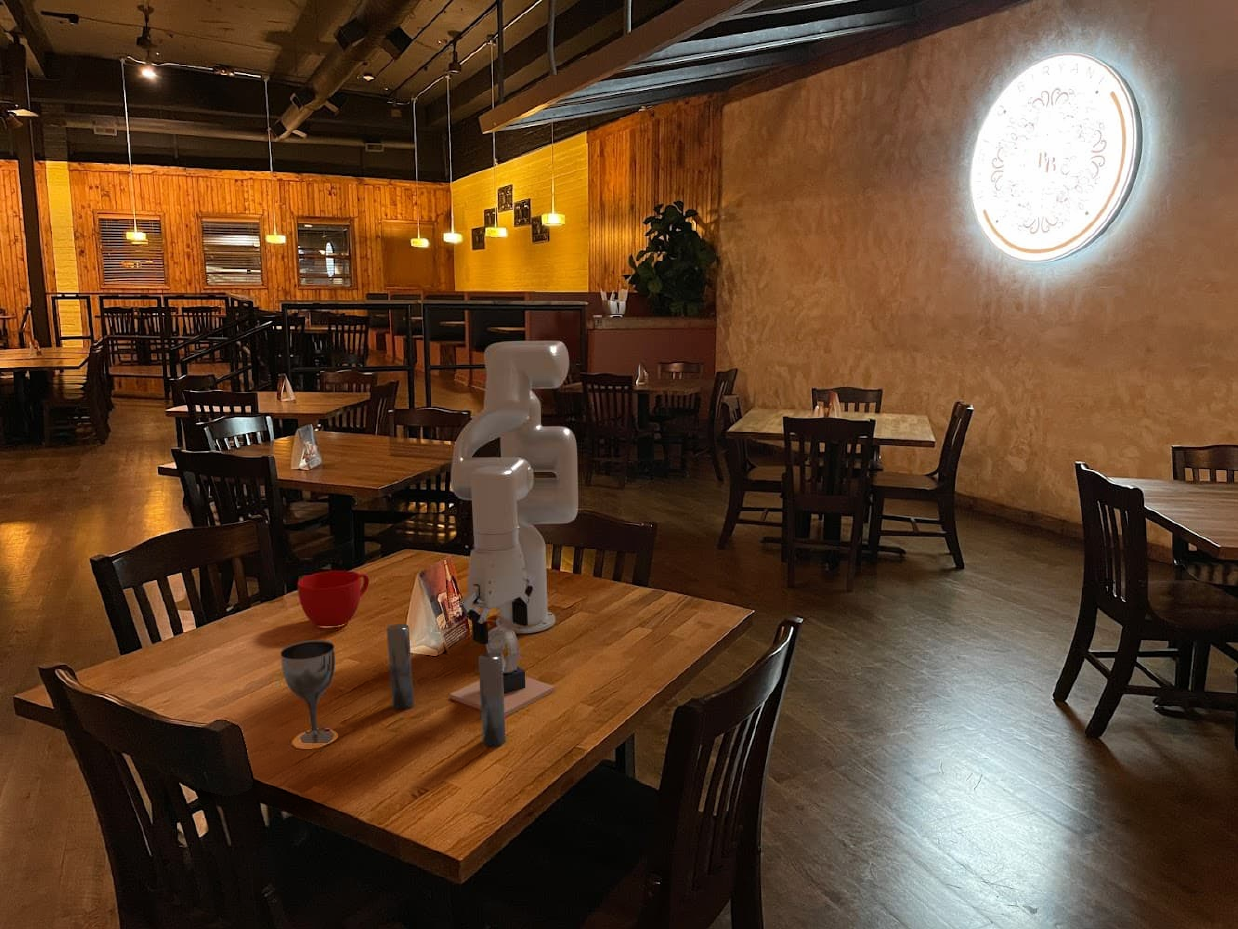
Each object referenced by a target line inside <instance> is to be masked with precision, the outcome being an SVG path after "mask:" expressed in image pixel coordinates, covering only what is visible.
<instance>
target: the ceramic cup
mask: <svg viewBox="0 0 1238 929" xmlns="http://www.w3.org/2000/svg"><path fill="white" fill-rule="evenodd" d="M361 578H363V584H362V583H361ZM369 582H370V578H369V576H368V575H367V574H365V573H363V572H362V573H357V572H354V571H352V570H351V571H350V570H328V571H323V572H322V571H321V572H317V573H313V574H309V575H307V576H303V577H302V578H301V579H298V582H297V593H298V598H299V602H300V606H301V608H302V610H303V613H304V615H305V616H306V617H307V618H308V619H309V621H310V622H311V623H312V624H314V625H315V626H316V625H317V626H338V625H342V624H345V623H347V622H348V621H350V620H351V619H352V618H353V617H354V615H355V613H356V612H357V610H358V607H359V604H360V601H361V600H360V599H361V597H362V596H363V595H364V594H365V593H366V591H367V589H368V588H369ZM361 584H362V586H361ZM348 623H349V622H348ZM348 623H347V624H348ZM317 626H316V627H317Z"/></svg>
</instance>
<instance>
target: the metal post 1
mask: <svg viewBox="0 0 1238 929" xmlns="http://www.w3.org/2000/svg"><path fill="white" fill-rule="evenodd" d="M386 638H387V648H388V661H389V663H388V664H389V674H390V686H391V699H392V700H391V701H392V708H393V709H395V710H398V711H403V710H408V709H411V708H413V707H414V706H415V692H414V683H413V682H414V680H413V668H412V666H413V665H412V654H411V642H410V628H409V625H408V624H405V623H397V624H392V625H390V626H388V627H387V628H386Z"/></svg>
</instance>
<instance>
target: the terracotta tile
mask: <svg viewBox="0 0 1238 929" xmlns="http://www.w3.org/2000/svg"><path fill="white" fill-rule="evenodd" d="M525 687H526V688H522V689H519V690H516V691H512V692H509V693H505V694H504V711H505V718H506V717H508V716H510V715H511V714H513V713H516V712H518V711H520V710H521V709H523V708H525V707H527V706H529V705H531V704H533V703H535V702H536V701H538V700H541V699H542V698H543V697H546V696H549V695H550V694H551V693H553V692H555V691H556V686H555V685H553V684H549V683H546V682H542V681H540V680H537V679H534V678H531V677H527V676H525ZM449 699H450V700H453V701H456V702H458V703H462V704H464V705H467V706H470V707H473V708H475V709H478V710H480V711H481V698H480V679H479V680H476V681H475V682H473V683H470V684H468V685H467V686H464V687H462V688H460V689H457V690H455V691H453V692H451V693H449Z"/></svg>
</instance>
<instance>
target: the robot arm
mask: <svg viewBox="0 0 1238 929" xmlns="http://www.w3.org/2000/svg"><path fill="white" fill-rule="evenodd" d="M568 351H569V350H568V349H567V347H566V345H565V343H564V342H563V341H560V340H513V341H510V340H509V341H501V342H500V341H499V342H495V343H492V344H489V345H488V346H487V347H486V348H485V350H484V354H483V360H484V361H483V362H484V367H485V371H486V381H485V390H484V399H483V409H482V410H481V411H480V412H479V413H477V414H476V415H475V416H474V417H473V418H472V419H471V420H470V421H469V422H468V423H467V424H466V425H465V427H464V428H463V429H462V430H461V431H460V433H459V435H458V436H457V438H456V441H455V443H454V447H453V455H452V462H451V471H450V484H451V489H452V492H453V494H454V495H455V496H456V497H457V498H458V499H461V500H464V501H471V506H472V509H471V510H472V524H473V525H472V527H473V530H472V531H473V546H474V548H472V549H471V550H470V555H469V561H468V571H467V574H468V575H467V593H466V594H465V595H464V596H463V597H462V598H461V599H460V600H459V602H458V605H459V606H458V607H460V609H461V611H462V614H463V615H464V616H465V617H466V618H467V619H468V620H469V621H471V627H472V628H471V631H472V641H473V642H475V643H478V644H481V645H484V646H486V644H488V632H489V626H488V621H485V620H486V618H487V616H488V614H489V612H490V610H492V609H493V610H494V609H495V610H499V615H498V616H497V617H496V620H495V623H496V624H495V626H496V627H499V626H506V627H507V626H509V627H510V628H511V629H512V630H513V631H514V633H515V634H532V633H538V632H542V631H545V630H547V629H551V627H553V626H554V625H555V623H556V616H555V614H554V613H552V612H551V611H548V589H547V588H548V585H547V582H548V581H547V557H546V556H547V554H546V553H547V552H546V543H545V539H544V538H543V536H542V534H541V533H540V531H538V529H537V528H536V527H535V526H534V525H541V524H542V525H545V524H546V525H547V524H550V525H551V524H553V525H554V524H569V523H571V522H573V521H574V520H575V519H576V517H577V514H578V511H579V509H578V508H579V487H578V486H579V482H578V481H579V480H578V448H577V447H578V446H577V441H576V437H575V434H574V433H573V431H572V430H571V429H570V428H568V427H566V426H558V425H557V426H554V425H553V426H552V425H551V426H543V425H542V422H541V421H542V413H541V412H542V408H541V406H542V405H541V402H540V400H539V399H538V396H536V394H535V393H534V391H533V390H535V389H537V390H538V389H543V390H544V389H558V388H559V387H561V386H562V385H563V383H564V382H565V380H566V377H567V376H568V372H569V369H570V357H569V352H568ZM532 389H533V390H532ZM498 438H500V457H497V456H493V457H491V456H490V457H484V456H483V457H473V456H474V454H475V453H476V452H477V451H478V450H479V449H480V448H481V447H483V446H485V444H488V443H490V442H491V441H493V440H496V439H498ZM539 472H541V473H543V472H545V473H547V472H551V473H554V474H555V475H556V477H547V478H546V477H535V476H534V473H539ZM480 609H481V610H480ZM479 611H480V612H479Z"/></svg>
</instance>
